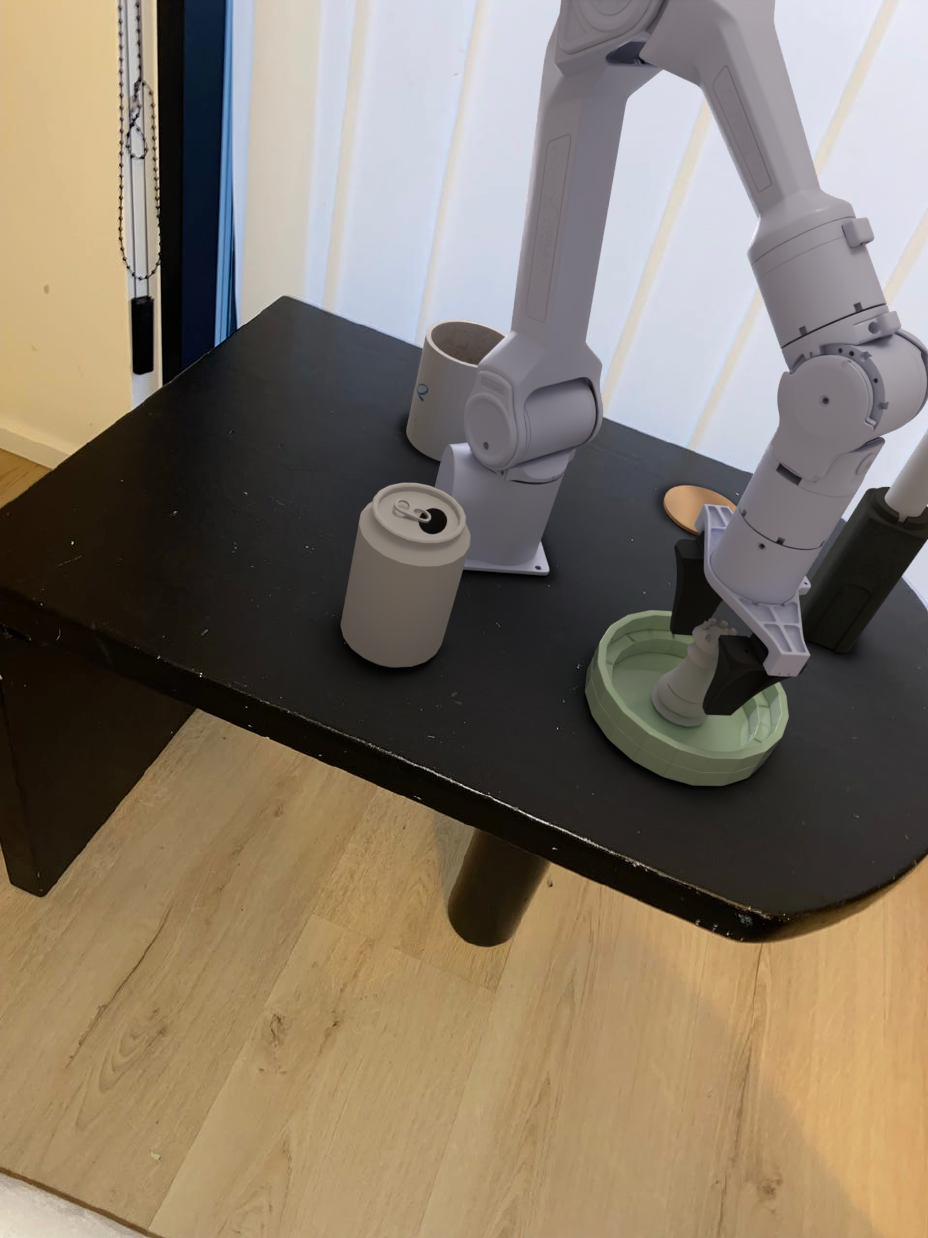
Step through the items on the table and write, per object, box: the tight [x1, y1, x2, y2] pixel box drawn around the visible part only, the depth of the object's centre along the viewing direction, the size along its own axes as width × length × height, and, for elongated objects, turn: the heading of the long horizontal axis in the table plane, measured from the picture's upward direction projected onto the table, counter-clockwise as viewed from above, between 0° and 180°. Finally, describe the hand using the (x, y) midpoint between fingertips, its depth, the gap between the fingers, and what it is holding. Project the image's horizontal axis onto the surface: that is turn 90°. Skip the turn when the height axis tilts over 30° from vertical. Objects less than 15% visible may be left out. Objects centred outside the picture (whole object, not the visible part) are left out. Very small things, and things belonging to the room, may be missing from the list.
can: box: [340, 482, 470, 668], centre depth 65 cm, size 8×8×12 cm
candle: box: [799, 429, 928, 654], centre depth 73 cm, size 5×5×25 cm
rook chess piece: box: [651, 617, 738, 727], centre depth 67 cm, size 4×4×8 cm
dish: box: [584, 609, 790, 787], centre depth 69 cm, size 14×14×4 cm
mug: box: [406, 318, 508, 462], centre depth 88 cm, size 12×9×10 cm
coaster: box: [663, 484, 737, 537], centre depth 90 cm, size 8×8×1 cm
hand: (699, 670), depth 67 cm, fingers open, 7 cm apart
